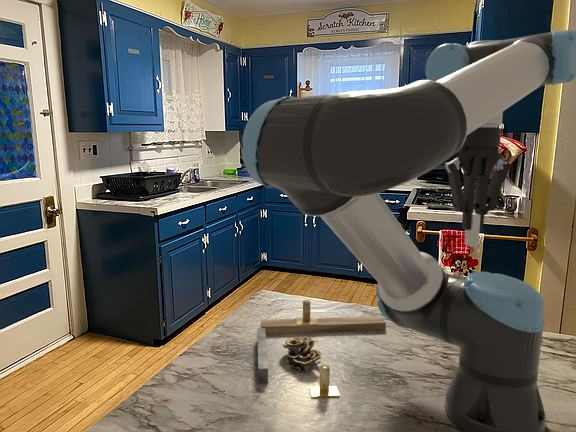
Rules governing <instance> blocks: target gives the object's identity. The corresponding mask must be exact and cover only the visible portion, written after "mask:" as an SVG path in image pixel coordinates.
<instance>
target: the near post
mask: <svg viewBox="0 0 576 432" xmlns="http://www.w3.org/2000/svg"><path fill="white" fill-rule="evenodd" d="M330 368H331V367H330V365H328V364H321V365H319V386H309V392H310V397H311V399H316V398H317V399H320V398H339V397H340V392H339V390H338V388H337V386H336V385H333V386H332V385H330V379H331V378H330V372H331V371H330Z"/></svg>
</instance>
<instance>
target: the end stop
mask: <svg viewBox="0 0 576 432" xmlns="http://www.w3.org/2000/svg"><path fill="white" fill-rule="evenodd" d="M256 332H257V334H256V335H257V336H256V337H257V363H258V364H257V366H258V368H257V373H258V374H257V375H258V384H268V383H269V363H268V349H267V348H268V347H267V335H266V332H265V328H261V327H260V328H259V327H258V328H257V331H256Z"/></svg>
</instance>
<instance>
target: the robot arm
mask: <svg viewBox="0 0 576 432" xmlns="http://www.w3.org/2000/svg"><path fill="white" fill-rule="evenodd" d="M425 76H426V79H421V80H416V81H413V82H411V83H409V84H407V85H405V86H400V87H395V88H387V89H386V88H385V89H374V90H373V89H371V90H352V91H351V90H349V91H344V92H334V93H326V94H318V95H309V96H300V97H299V96H298V97H295V96H293V95H292V96H291V95H289V96H287V95H286V96H283V97H281V98H277V99H274V100H269V101H266V102H265V103H262V104H261V105H260V106H258V107H257V108H256V110H254V112H253V113H252V115H250V117H249V118H248V121H247V122H246V125H245V127H244V130H243V133H242V134H243V135H242V139H241V141H242V150H241V155H242V160H243V161H242V162H243V164H244V167H245V169H246V171H247V173H248V174H249V176H250V178H252V179H253V180H254V181H255V182H256V183H258V184H259V185H262V186H263V187H266V188H268V189H278V190H280V191H281V192H282V193H283V194H284V196H286V197H287V199H289V201H291V203H292V204H294V206H295V207H296V208H297V209H298V210H299V211H300V212H301V213H302V214H304V215H306V216H309V217H320V218H321V220H322V221H324V223H325V224H326V225H327V226H328V227H329V228H330V229H331V231H332V232H333V233H334V235H336V236H337V237H338V239H339V240H340V241H341V242H342V243H343V245H344V246H346V247H347V249H348V250H349V251H350V252H351V253H352V254H353V256H355V258H356V259H357V260H358V261H359V262H360V264H361V265H362V266H363V268H364V269H366V270H367V272H368V273H369V275H371V276H372V277H373V278H374V280H376V282H377V284H376V288H375V289H376V291H375V292H376V293H375V295H376V296H375V297H377V301H376V304H377V307H378V309H379V311H380V313H381V314H382V316H383V317H384V318H386V319H387V320H388V321H389V322H392V323H393V324H395V325H397V326H398V327H401V328H405V329H409V330H412V331H415V332H417V333H420V334H424V335H426V336H428V337H432V338H434V339H436V340H439V341H442V342H445V343H447V344H450V345H452V346H455V347H457V348H459V357H458V358H459V359H458V367H457V369H456V370H455V372H454V374H453V376H452V378H451V380H450V383H449V386H448V387H447V389H446V391H445V396H444V397H445V401H444V410H445V413H446V414H447V416H448V418H449V419H450V420H451V421H452V422H453V423H454V424H455V426H457V427H458V428H460V429H461V430H463V431H464V432H545V430H546V422H547V421H546V419H547V418H546V412H545V408H544V405H543V400H542V397H541V393H540V390H539V385H538V375H539V365H540V357H541V356H540V354H541V347H542V341H543V340H542V339H543V330H544V328H545V324H546V323H545V318H544V315H545V314H544V313H545V302H544V298H543V296H542V295H541V293H540V292H539V291H538V290H537V289H536V288H535V287H533V286H532V285H531V284H528V283H527V282H525V281H524V280H523V281H522V280H520V279H519V278H515V277H513V276H509V275H506V274H504V273H503V274H502V273H497V272H496V273H491V272H489V271H474V272H470V273H469V274H467V276H465V277H464V276H460V275H455V274H452V273H448V272H446V271H445V270H444V269H443V267H442V266H441V265H440V263H439V262H438V261H437V259H435V258H434V257H433V256H432V255H430V254H428V253H426V252H424V251H420V250H419V248H417V246H416V245H415V243H414V242H413V241H412V239H411V237H410V236H409V235H408V234H407V232H406V230H405V229H404V228H403V226H402V225H401V223H400V222H399V220H397V218H396V217H395V215H394V214H393V212H392V210H391V209H390V208H389V206H388V205H387V204H386V202H385V201H384V199H383V198H382V196H381V195H380V194H379V193H382V192H386V191H388V190H391V189H394V188H396V187H398V186H401V185H404V184H406V183H409V182H411V181H413V180H414V179H417V178H419V177H421V176H423V175H425V174H426V173H429V172H430V171H432V170H434V169H436V168H438V167H439V166H440V165H442V164H443V163H444V164H443V168H444V170H445V171H446V173H447V175H448V182H449V187H450V193H451V199H452V207H453V209H454V210H457V211H459V212H461V213H462V220H461V221H462V222H461V227H462V229H463V230H464V231H465V233H464V245H466V246H469V248H470V247H471V248H474V247H475V248H477V247H479V243H480V242H479V241H480V240H479V239H480V230H483V228H484V223H485V216H486V215H488V213H489V212H491V211H494V210H495V209H496V205H497V202H498V200H499V195H500V193H501V191H502V190H501V189H502V187H503V184H504V180H505V176H506V174H507V173H508V171H509V170H510V169H511V167H512V165H511V163H510V162H506V161H504V160H502V158H501V153H500V151H499V148H500V146H501V138H502V136H501V135H502V129H501V128H500V127H499V126H500V125H502V124H503V117H504V115H503V113H504V112H505V111H506V110H507V109H509V108H510V107H512V106H514V104H516V103H517V102H519V101H521V100H522V99H523V98H525V97H526V96H528V95H529V94H531V93H533V92H534V91H535V90H537V89H538V88H539V89H540V87H542V86H548V85H551V86H556V85H558V84H559V85H561V84H566V83H570V82H573V81H574V80H575V79H576V30H574V29H566V30H557V31H556V30H551V31H550V32H549V31H548V32H543V33H537V34H531V35H527V36H520V37H514V38H509V39H500V40H499V39H498V40H494V39H489V40H488V39H486V40H485V39H484V40H477V41H473V42H470V43H468V44H467V45H462V44H460V43H444V44H441V45H438V46H437V47H436V48H435V49H434V50H433V51H432V52H431V53H430V55H429V56H428V57H427V61H426V64H425ZM454 156H455V158H454V159H453V160H451V161H449V162H447V161H448V160H449V159H451V158H452V157H454ZM460 168H461V170H462V171H463V172H462V173H463V174H462V178H463V186H462V180H461V179H462V178H461V175H460V171H459V170H460ZM493 169H494V170H493ZM492 170H493V172H492V175H491V171H492ZM489 180H490V181H489Z"/></svg>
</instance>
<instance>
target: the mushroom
mask: <svg viewBox="0 0 576 432" xmlns="http://www.w3.org/2000/svg"><path fill="white" fill-rule="evenodd" d="M317 342H319V341H318V339H317V340H316V339H315V340H314V338H313V337H308V336H303V337H302V336H295V337H293V338H288V339H286V340H283V341H282V343H281V345H282V346H283V348H284V349H287V352H288V354H286V356H288V358H287V363H286V364H287V365H289V367H290V369H289V371H290V373H291V372H292V374H295V373H302V372H310V371H312V370H314V369H315V367H316V366H318V365H319V364H321V363H322V361H321V360H320V359H321V358H322V354H323V353H322V352H321V351H320V350H317V349H313V347H314V346H315V344H317ZM318 360H319V361H318Z"/></svg>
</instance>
